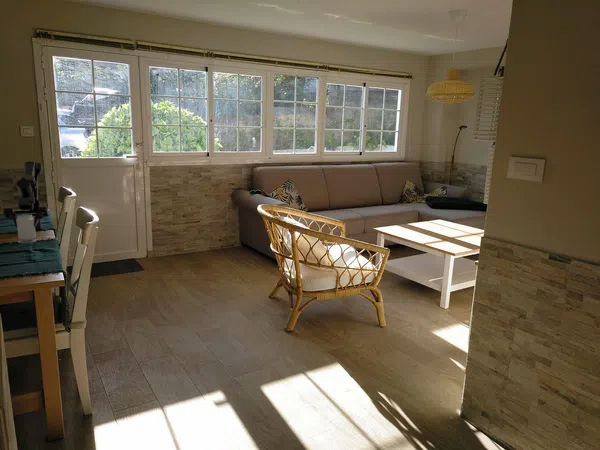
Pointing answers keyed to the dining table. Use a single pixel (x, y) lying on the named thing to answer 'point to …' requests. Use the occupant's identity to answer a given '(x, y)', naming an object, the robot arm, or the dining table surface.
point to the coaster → (27, 241)
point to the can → (26, 227)
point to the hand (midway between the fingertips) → (25, 226)
